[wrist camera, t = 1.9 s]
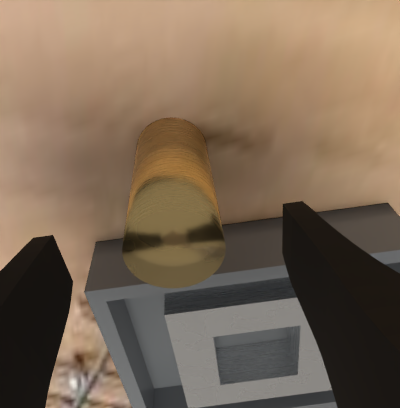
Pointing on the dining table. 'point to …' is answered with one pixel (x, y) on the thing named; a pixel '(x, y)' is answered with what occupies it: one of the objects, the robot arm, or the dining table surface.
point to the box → (225, 275)
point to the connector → (172, 208)
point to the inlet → (247, 353)
